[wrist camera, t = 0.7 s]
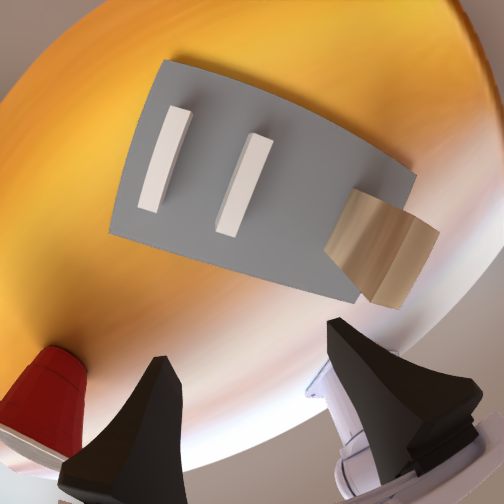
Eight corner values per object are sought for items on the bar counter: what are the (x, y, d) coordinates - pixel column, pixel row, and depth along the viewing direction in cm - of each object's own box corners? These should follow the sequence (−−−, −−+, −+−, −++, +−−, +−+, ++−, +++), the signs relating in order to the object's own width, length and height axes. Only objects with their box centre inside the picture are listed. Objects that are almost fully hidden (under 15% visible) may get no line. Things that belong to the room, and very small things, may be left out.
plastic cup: (79, 402, 25) (58, 480, 14) (14, 346, 20) (-26, 423, 10) (131, 384, 24) (112, 488, 13) (51, 312, 19) (-7, 417, 8)
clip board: (409, 173, 19) (433, 180, 16) (349, 297, 23) (364, 317, 20) (166, 63, 14) (158, 50, 11) (113, 228, 18) (98, 243, 15)
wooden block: (376, 200, 19) (440, 232, 12) (348, 259, 20) (398, 309, 14) (352, 187, 18) (415, 216, 12) (323, 250, 20) (370, 302, 13)
